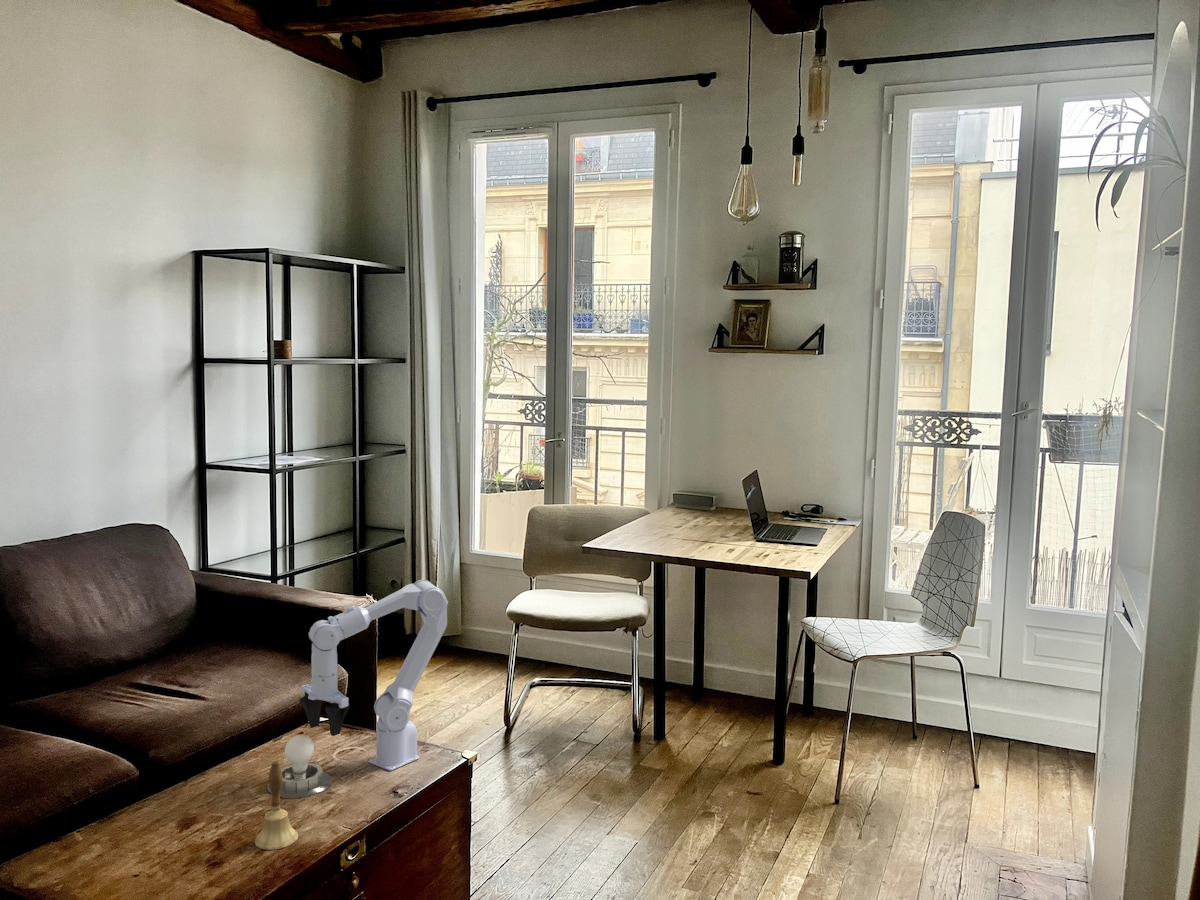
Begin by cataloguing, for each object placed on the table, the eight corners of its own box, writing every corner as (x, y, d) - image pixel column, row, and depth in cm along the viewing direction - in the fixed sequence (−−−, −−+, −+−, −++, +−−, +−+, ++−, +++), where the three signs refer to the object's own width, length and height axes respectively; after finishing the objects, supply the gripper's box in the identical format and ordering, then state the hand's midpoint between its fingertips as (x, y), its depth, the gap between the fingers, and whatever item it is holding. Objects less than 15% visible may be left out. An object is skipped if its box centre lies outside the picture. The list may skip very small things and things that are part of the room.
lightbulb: (309, 774, 216) (309, 728, 215) (318, 785, 211) (317, 738, 210) (281, 780, 213) (281, 734, 212) (289, 791, 208) (289, 743, 207)
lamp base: (306, 765, 222) (306, 754, 222) (344, 782, 214) (344, 770, 213) (254, 786, 210) (253, 774, 210) (292, 804, 202) (292, 792, 202)
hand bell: (245, 841, 186) (244, 764, 185) (280, 825, 193) (280, 750, 192) (272, 854, 182) (271, 775, 180) (307, 837, 189) (306, 760, 187)
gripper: (290, 671, 216) (290, 728, 218) (330, 684, 208) (330, 743, 209) (315, 663, 222) (316, 719, 223) (355, 676, 214) (356, 734, 215)
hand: (324, 730), depth 217 cm, fingers open, 7 cm apart
